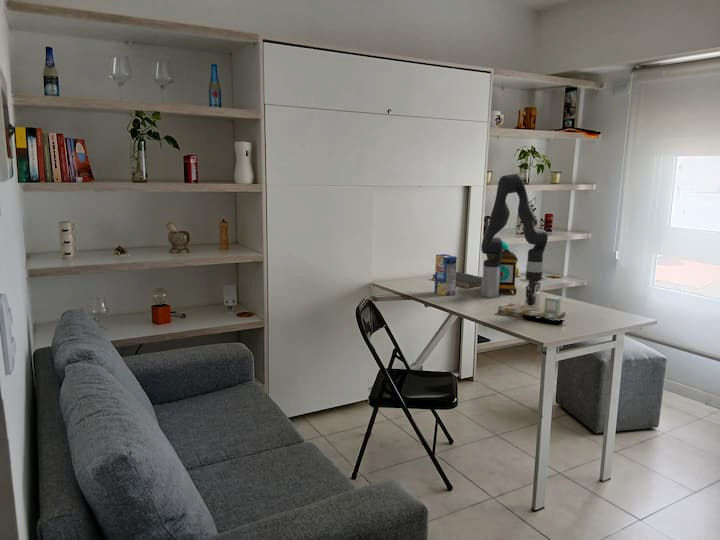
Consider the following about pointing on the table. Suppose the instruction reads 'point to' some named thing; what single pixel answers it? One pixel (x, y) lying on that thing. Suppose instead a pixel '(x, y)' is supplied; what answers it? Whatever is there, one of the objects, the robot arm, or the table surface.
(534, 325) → the table surface
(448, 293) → the beverage box
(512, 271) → the decorative lantern
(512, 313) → the walnut shelf
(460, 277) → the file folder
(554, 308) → the green carton
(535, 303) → the cream carton
